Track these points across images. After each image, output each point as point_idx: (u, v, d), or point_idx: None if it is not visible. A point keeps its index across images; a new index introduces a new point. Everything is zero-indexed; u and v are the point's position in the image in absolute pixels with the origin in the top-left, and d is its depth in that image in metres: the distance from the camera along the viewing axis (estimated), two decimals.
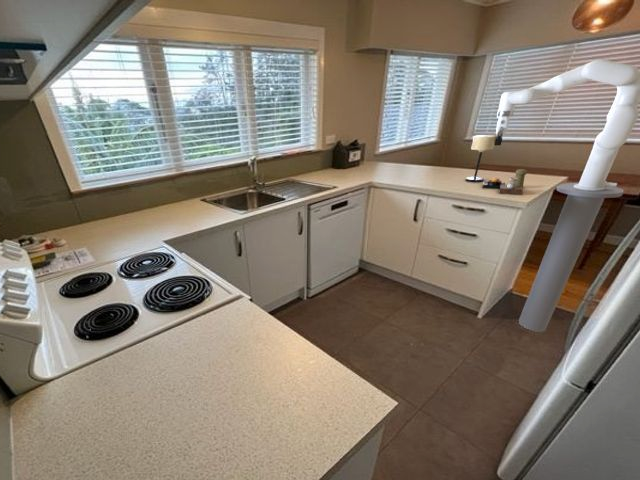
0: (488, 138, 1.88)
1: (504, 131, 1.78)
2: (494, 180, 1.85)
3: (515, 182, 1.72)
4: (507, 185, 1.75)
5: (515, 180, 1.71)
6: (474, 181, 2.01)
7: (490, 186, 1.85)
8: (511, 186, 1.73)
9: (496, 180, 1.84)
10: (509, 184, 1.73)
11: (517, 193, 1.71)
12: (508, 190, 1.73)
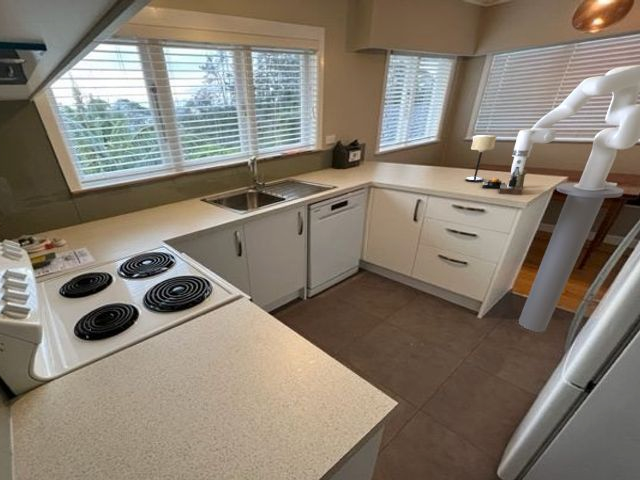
0: (488, 138, 1.88)
1: (520, 171, 1.66)
2: (494, 180, 1.85)
3: None
4: (507, 185, 1.75)
5: None
6: (474, 181, 2.01)
7: (490, 186, 1.85)
8: None
9: (496, 180, 1.84)
10: None
11: (517, 193, 1.71)
12: (508, 190, 1.73)
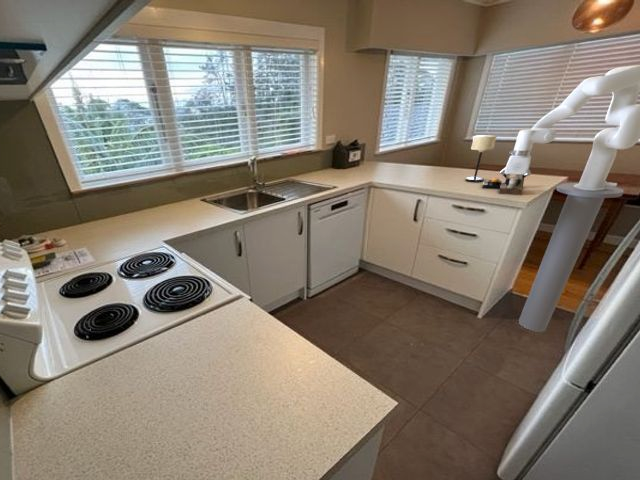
0: (488, 138, 1.88)
1: (505, 170, 1.72)
2: (494, 180, 1.85)
3: (509, 182, 1.73)
4: None
5: (509, 179, 1.73)
6: (474, 181, 2.01)
7: (490, 186, 1.85)
8: (507, 185, 1.75)
9: (496, 180, 1.84)
10: None
11: (517, 193, 1.71)
12: (508, 190, 1.73)
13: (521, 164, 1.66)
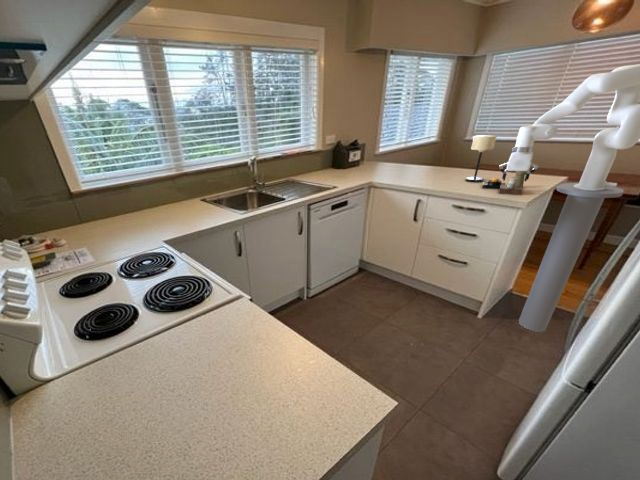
0: (488, 138, 1.88)
1: None
2: (494, 180, 1.85)
3: (509, 182, 1.73)
4: None
5: (509, 179, 1.73)
6: (474, 181, 2.01)
7: (490, 186, 1.85)
8: (507, 185, 1.75)
9: (496, 180, 1.84)
10: None
11: (517, 193, 1.71)
12: (508, 190, 1.73)
13: (523, 161, 1.65)
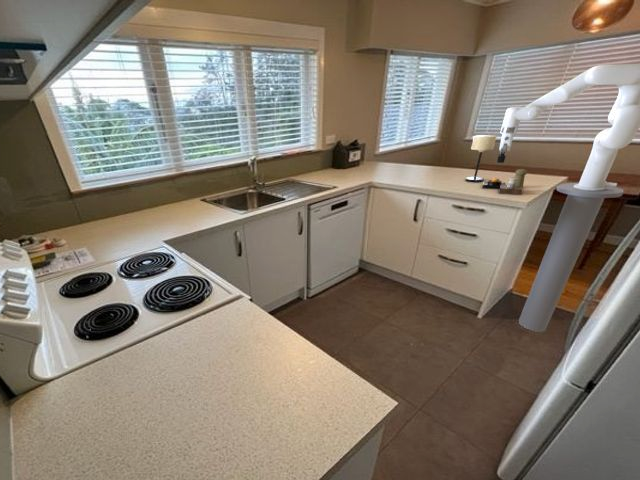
0: (488, 138, 1.88)
1: (508, 148, 1.73)
2: (494, 180, 1.85)
3: (509, 182, 1.73)
4: None
5: (509, 179, 1.73)
6: (474, 181, 2.01)
7: (490, 186, 1.85)
8: (507, 185, 1.75)
9: (496, 180, 1.84)
10: None
11: (517, 193, 1.71)
12: (508, 190, 1.73)
13: None
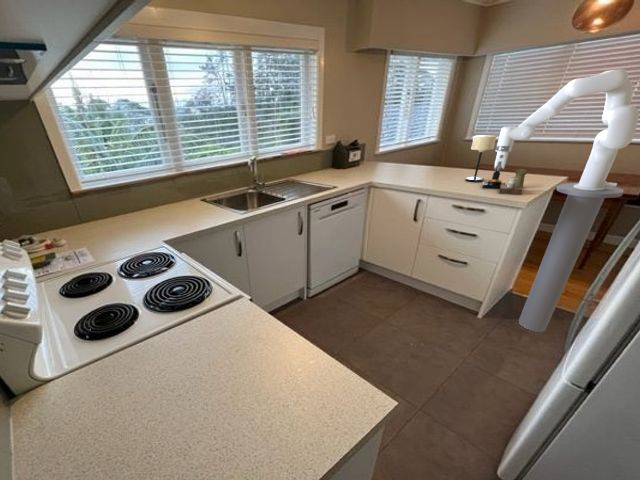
0: (488, 138, 1.88)
1: (502, 166, 1.77)
2: (494, 181, 1.85)
3: (509, 182, 1.73)
4: None
5: (509, 179, 1.73)
6: (474, 181, 2.01)
7: (490, 186, 1.85)
8: (507, 185, 1.75)
9: (496, 181, 1.85)
10: None
11: (517, 193, 1.71)
12: (508, 190, 1.73)
13: None
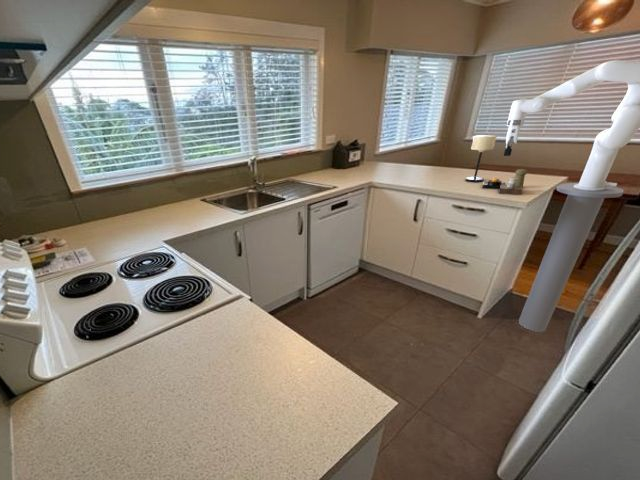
0: (488, 138, 1.88)
1: (515, 140, 1.73)
2: (494, 180, 1.85)
3: (509, 182, 1.73)
4: None
5: (509, 179, 1.73)
6: (474, 181, 2.01)
7: (490, 186, 1.85)
8: (507, 185, 1.75)
9: (496, 180, 1.84)
10: None
11: (517, 193, 1.71)
12: (508, 190, 1.73)
13: None
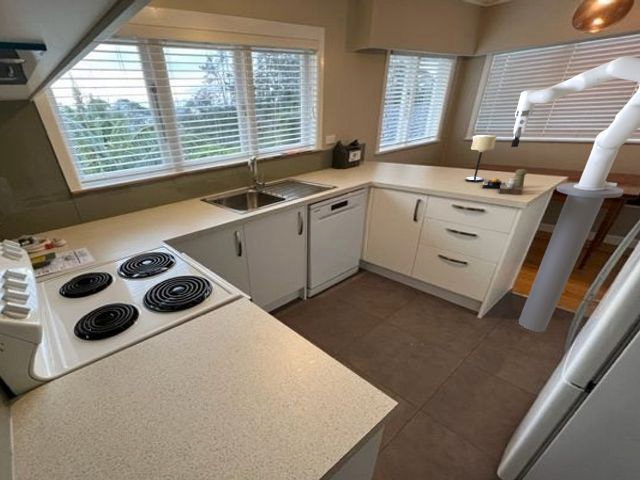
0: (488, 138, 1.88)
1: (523, 131, 1.73)
2: (494, 180, 1.85)
3: (509, 182, 1.73)
4: None
5: (509, 179, 1.73)
6: (474, 181, 2.01)
7: (490, 186, 1.85)
8: (507, 185, 1.75)
9: (496, 180, 1.84)
10: None
11: (517, 193, 1.71)
12: (508, 190, 1.73)
13: None
